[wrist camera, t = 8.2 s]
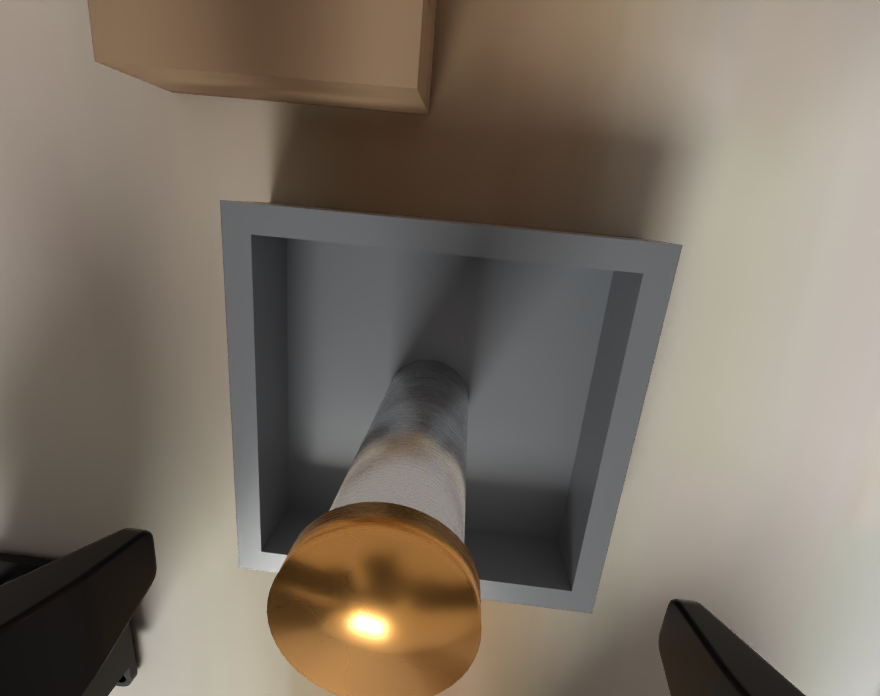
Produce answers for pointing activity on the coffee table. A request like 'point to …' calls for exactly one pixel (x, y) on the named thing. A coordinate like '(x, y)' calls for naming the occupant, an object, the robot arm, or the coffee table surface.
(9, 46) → the coffee table surface
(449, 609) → the lock pin
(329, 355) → the tray
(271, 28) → the block
